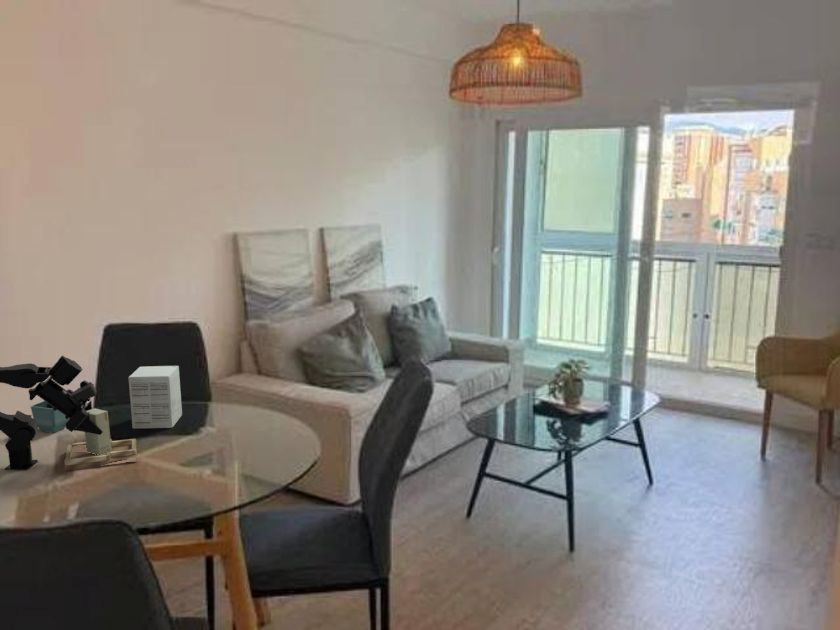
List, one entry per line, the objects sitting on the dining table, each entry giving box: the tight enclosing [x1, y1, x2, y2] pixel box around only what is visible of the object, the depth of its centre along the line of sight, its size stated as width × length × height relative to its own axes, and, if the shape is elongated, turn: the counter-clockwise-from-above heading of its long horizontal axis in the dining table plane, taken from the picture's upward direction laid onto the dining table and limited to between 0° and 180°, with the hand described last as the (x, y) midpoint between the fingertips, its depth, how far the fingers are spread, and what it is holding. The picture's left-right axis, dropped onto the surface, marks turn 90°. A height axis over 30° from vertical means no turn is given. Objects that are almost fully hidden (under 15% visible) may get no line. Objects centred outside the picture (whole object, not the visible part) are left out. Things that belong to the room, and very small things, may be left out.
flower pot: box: [30, 400, 67, 434], centre depth 252 cm, size 9×9×9 cm
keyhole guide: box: [63, 438, 138, 472], centre depth 230 cm, size 19×16×3 cm
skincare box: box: [84, 408, 112, 455], centre depth 228 cm, size 6×4×12 cm
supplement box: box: [128, 365, 183, 429], centre depth 259 cm, size 13×13×18 cm
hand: (102, 429), depth 229 cm, fingers closed on skincare box, 7 cm apart
